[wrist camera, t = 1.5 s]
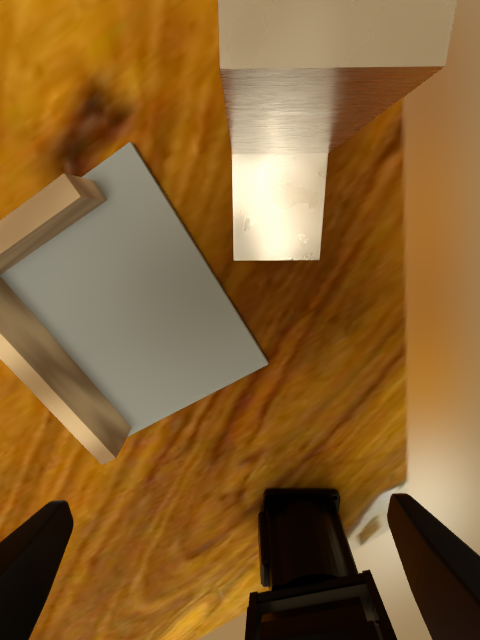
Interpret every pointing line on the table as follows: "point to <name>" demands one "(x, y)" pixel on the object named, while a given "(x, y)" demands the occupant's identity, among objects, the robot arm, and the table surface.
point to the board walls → (32, 337)
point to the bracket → (311, 101)
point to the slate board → (136, 300)
